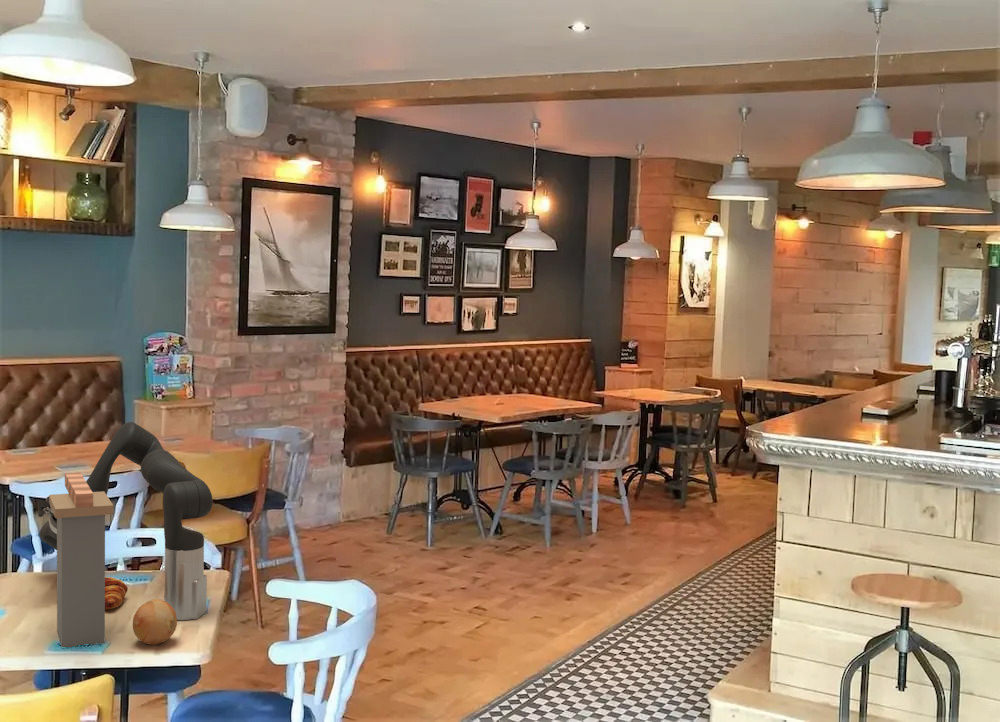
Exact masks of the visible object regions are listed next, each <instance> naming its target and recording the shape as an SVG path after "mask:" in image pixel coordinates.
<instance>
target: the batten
mask: <svg viewBox="0 0 1000 722" xmlns="http://www.w3.org/2000/svg"><path fill="white" fill-rule="evenodd" d="M86 481H87V480H86V479H85V478H84V476H83V474H82V473H81V472H79V471H78V472H65V473H64V487H65V489H66V491H67V492H68V493H67V494H69V495H70V497H71V499H72V501H73V503H74V505H75V506H76V508H81V507H93V492H92V491H91V489H90V487H89V486H88V484H87V482H86Z"/></svg>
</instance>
